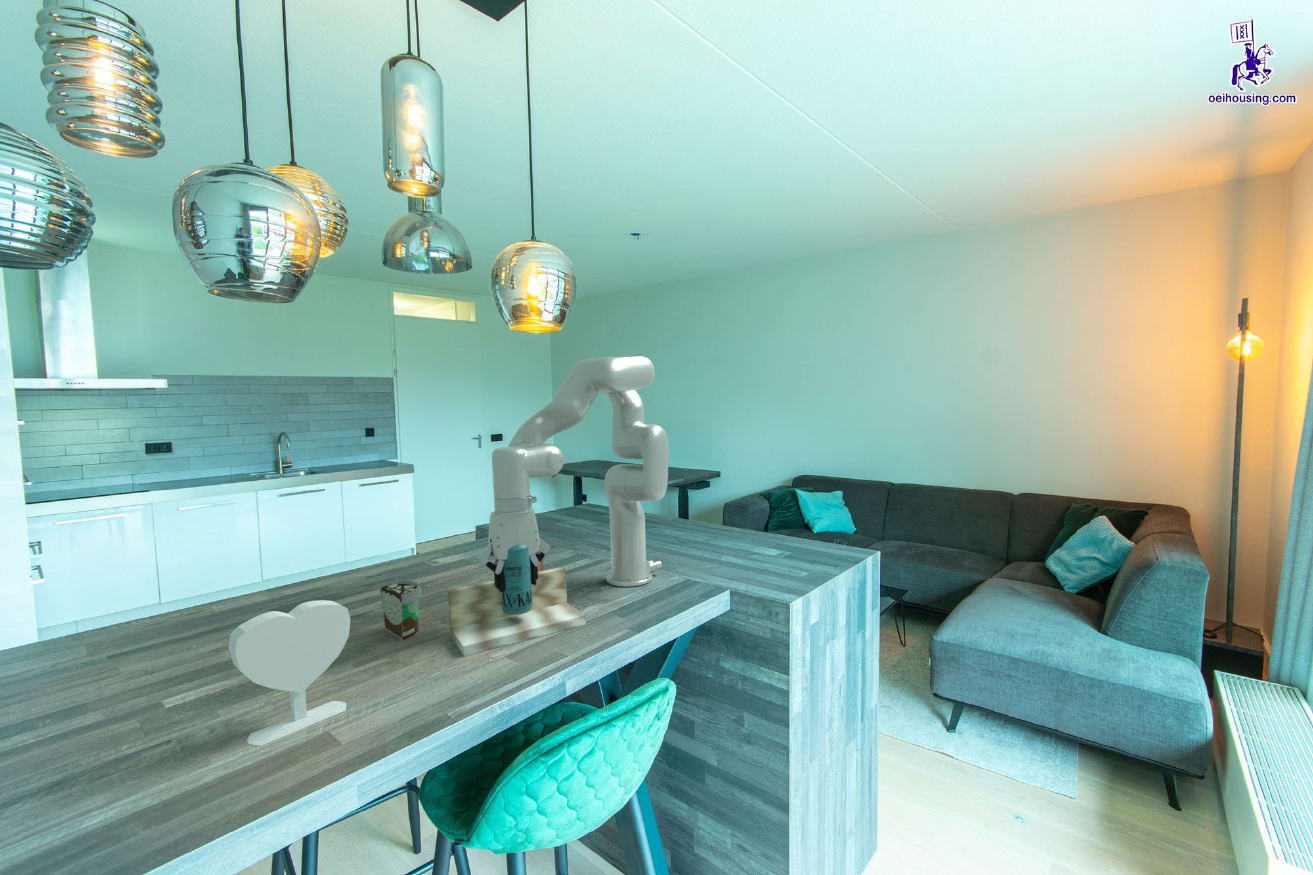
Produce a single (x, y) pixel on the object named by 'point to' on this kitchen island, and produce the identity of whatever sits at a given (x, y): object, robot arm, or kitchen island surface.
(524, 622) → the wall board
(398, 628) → the food container
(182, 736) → the kitchen island surface
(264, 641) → the heart sculpture
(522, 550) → the beverage bottle
